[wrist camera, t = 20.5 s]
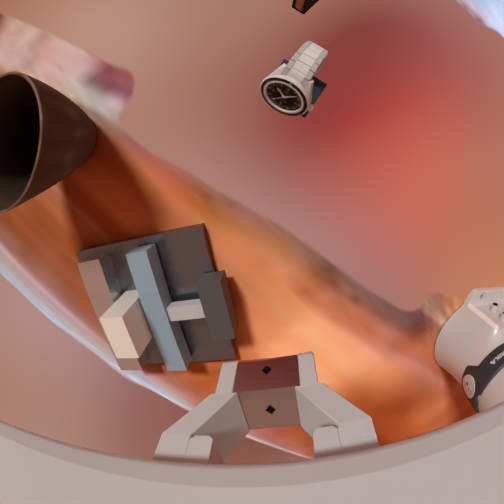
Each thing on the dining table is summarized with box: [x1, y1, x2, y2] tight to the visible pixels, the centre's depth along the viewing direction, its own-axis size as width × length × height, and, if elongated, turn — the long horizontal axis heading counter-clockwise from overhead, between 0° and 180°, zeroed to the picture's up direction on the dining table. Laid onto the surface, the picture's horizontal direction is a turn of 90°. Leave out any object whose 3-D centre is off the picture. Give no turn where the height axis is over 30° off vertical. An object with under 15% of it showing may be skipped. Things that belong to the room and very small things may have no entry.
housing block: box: [99, 290, 153, 358], centre depth 38 cm, size 4×6×8 cm, turn 11°
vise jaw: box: [125, 243, 238, 371], centre depth 39 cm, size 11×18×3 cm, turn 11°
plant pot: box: [0, 71, 96, 213], centre depth 28 cm, size 15×15×16 cm
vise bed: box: [77, 223, 237, 370], centre depth 40 cm, size 20×20×4 cm
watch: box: [260, 41, 328, 117], centre depth 27 cm, size 6×8×11 cm
